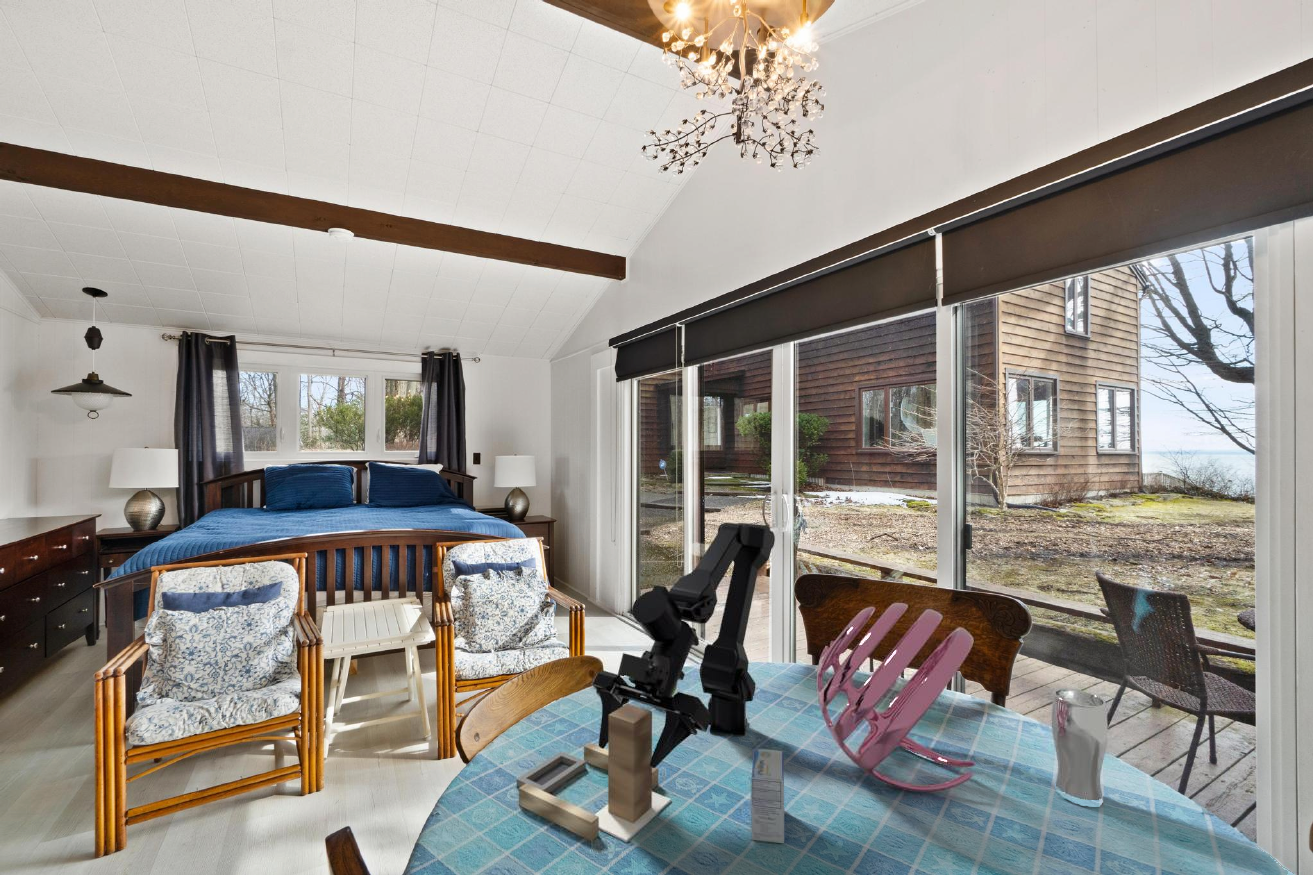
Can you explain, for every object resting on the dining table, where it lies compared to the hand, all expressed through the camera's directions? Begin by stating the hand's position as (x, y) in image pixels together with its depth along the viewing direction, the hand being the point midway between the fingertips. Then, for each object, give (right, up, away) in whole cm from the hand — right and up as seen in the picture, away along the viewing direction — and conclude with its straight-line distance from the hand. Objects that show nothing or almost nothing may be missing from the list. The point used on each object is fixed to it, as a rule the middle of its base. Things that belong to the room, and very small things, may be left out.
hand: (625, 756), depth 86 cm
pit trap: (-12, -8, +10) cm, 18 cm away
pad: (+1, -8, +1) cm, 9 cm away
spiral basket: (+44, -9, +14) cm, 47 cm away
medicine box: (+20, -9, -2) cm, 22 cm away
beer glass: (+69, -9, +5) cm, 69 cm away
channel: (-6, -8, +5) cm, 12 cm away
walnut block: (+1, -8, +1) cm, 8 cm away
